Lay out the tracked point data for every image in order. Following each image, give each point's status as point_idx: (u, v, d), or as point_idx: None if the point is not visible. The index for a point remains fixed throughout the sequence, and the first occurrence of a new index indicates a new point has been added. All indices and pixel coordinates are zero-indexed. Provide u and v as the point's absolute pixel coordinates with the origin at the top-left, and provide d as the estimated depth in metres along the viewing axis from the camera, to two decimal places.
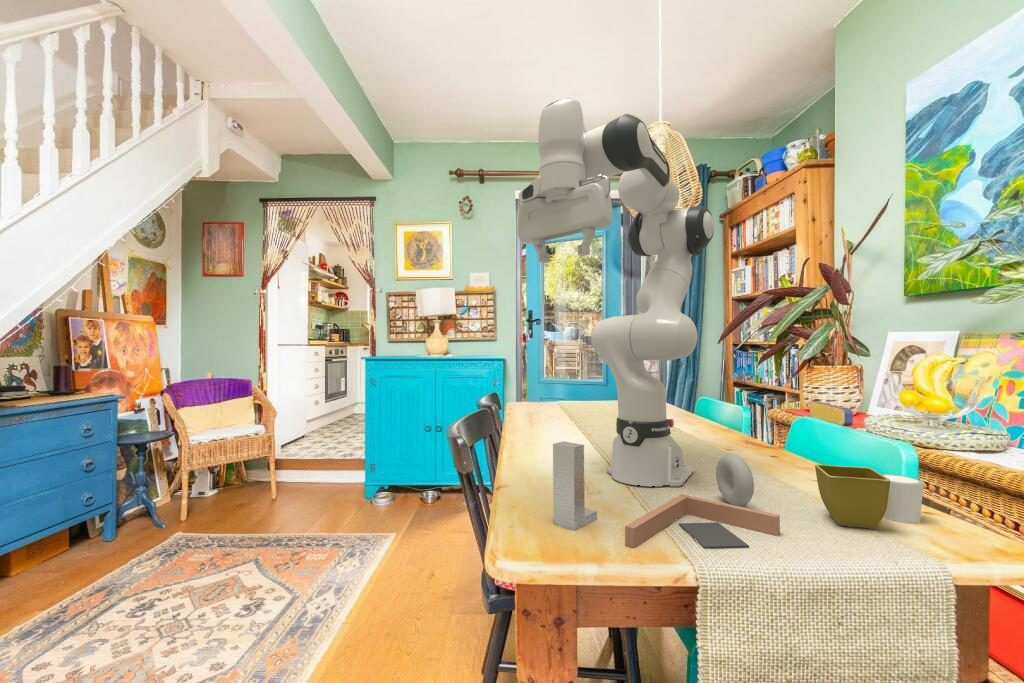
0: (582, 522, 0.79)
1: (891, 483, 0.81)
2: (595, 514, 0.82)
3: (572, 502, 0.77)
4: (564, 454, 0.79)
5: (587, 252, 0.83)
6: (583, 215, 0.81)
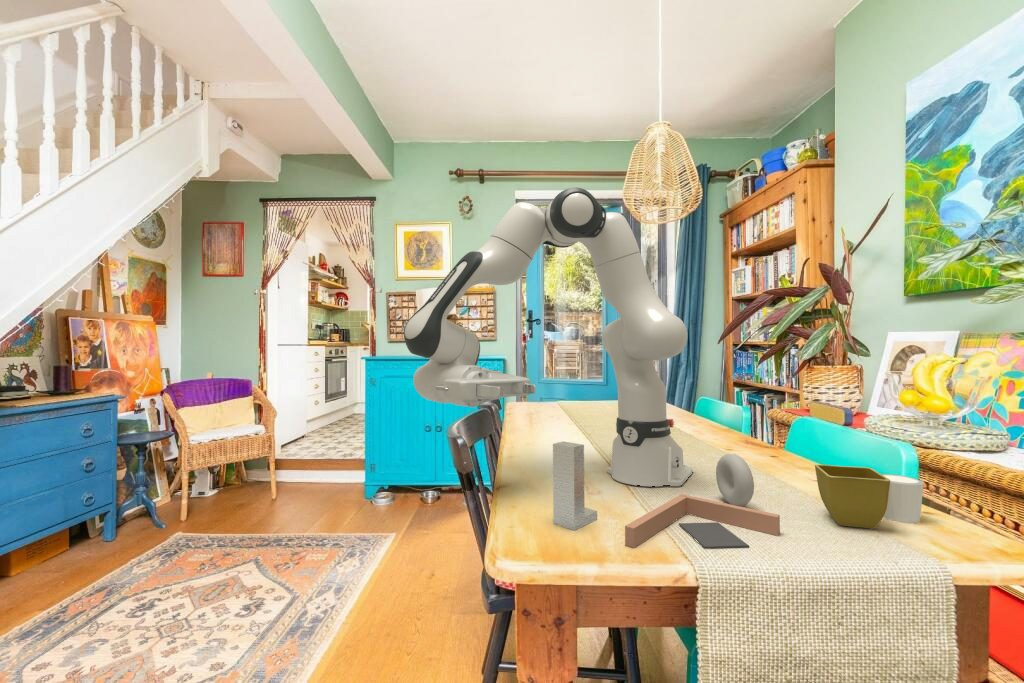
0: (582, 522, 0.79)
1: (891, 483, 0.81)
2: (595, 514, 0.82)
3: (572, 502, 0.77)
4: (564, 454, 0.79)
5: (497, 391, 0.84)
6: None
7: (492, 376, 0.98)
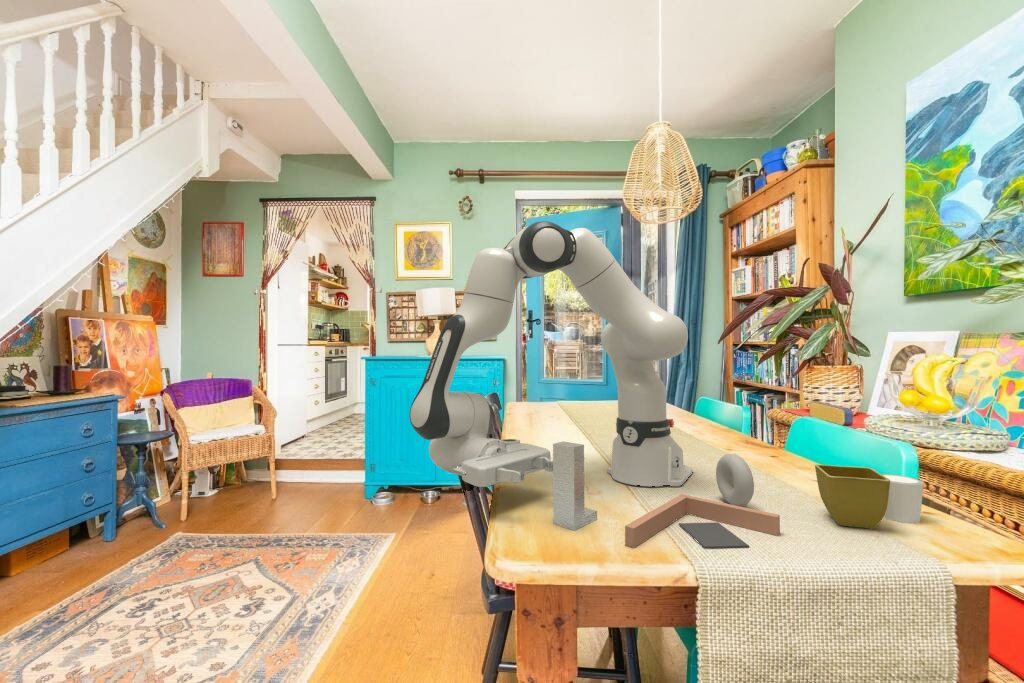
0: (582, 522, 0.79)
1: (891, 483, 0.81)
2: (595, 514, 0.82)
3: (572, 502, 0.77)
4: (564, 454, 0.79)
5: (517, 477, 0.81)
6: None
7: (511, 449, 0.95)
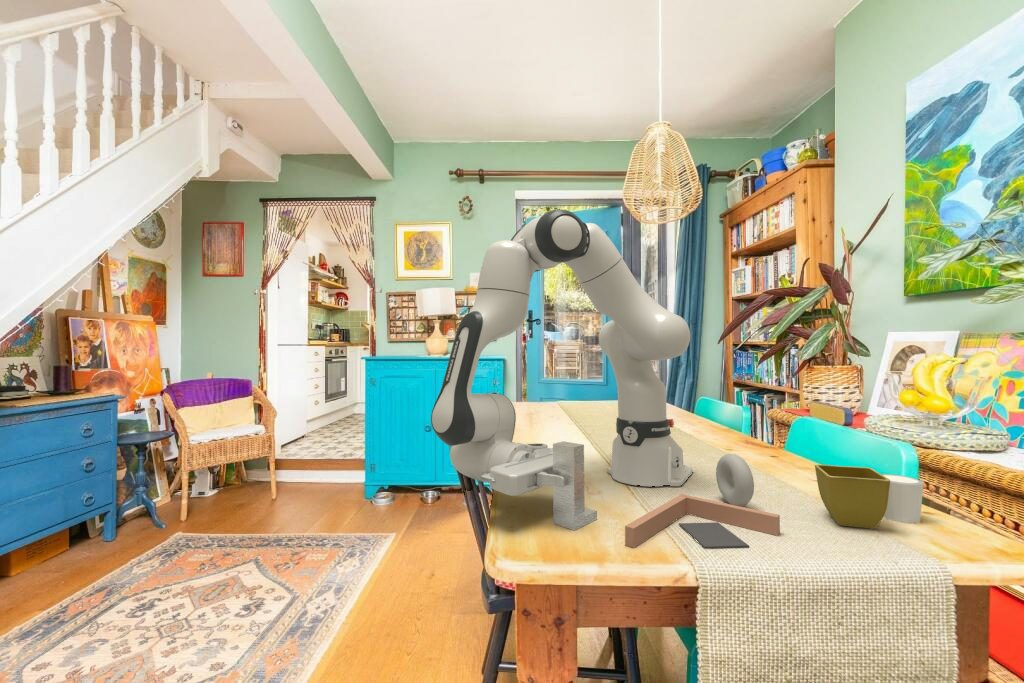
0: (582, 522, 0.79)
1: (891, 483, 0.81)
2: (595, 514, 0.82)
3: (572, 502, 0.77)
4: (564, 454, 0.79)
5: (560, 481, 0.77)
6: None
7: (539, 454, 0.89)
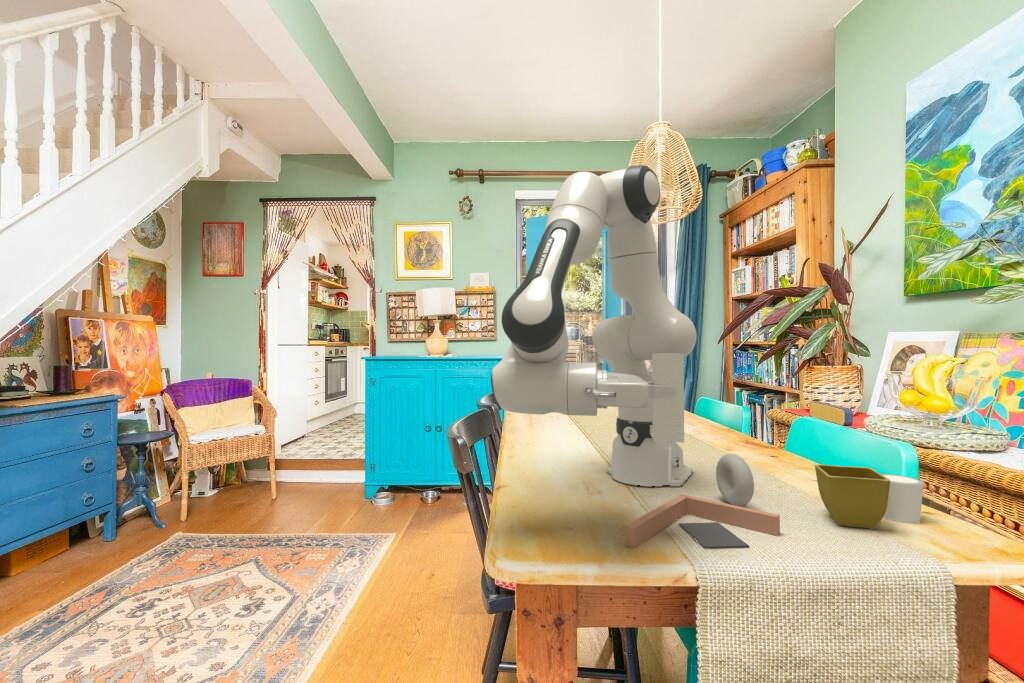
0: None
1: (891, 483, 0.81)
2: None
3: (680, 413, 0.72)
4: (670, 362, 0.72)
5: (673, 391, 0.71)
6: None
7: None
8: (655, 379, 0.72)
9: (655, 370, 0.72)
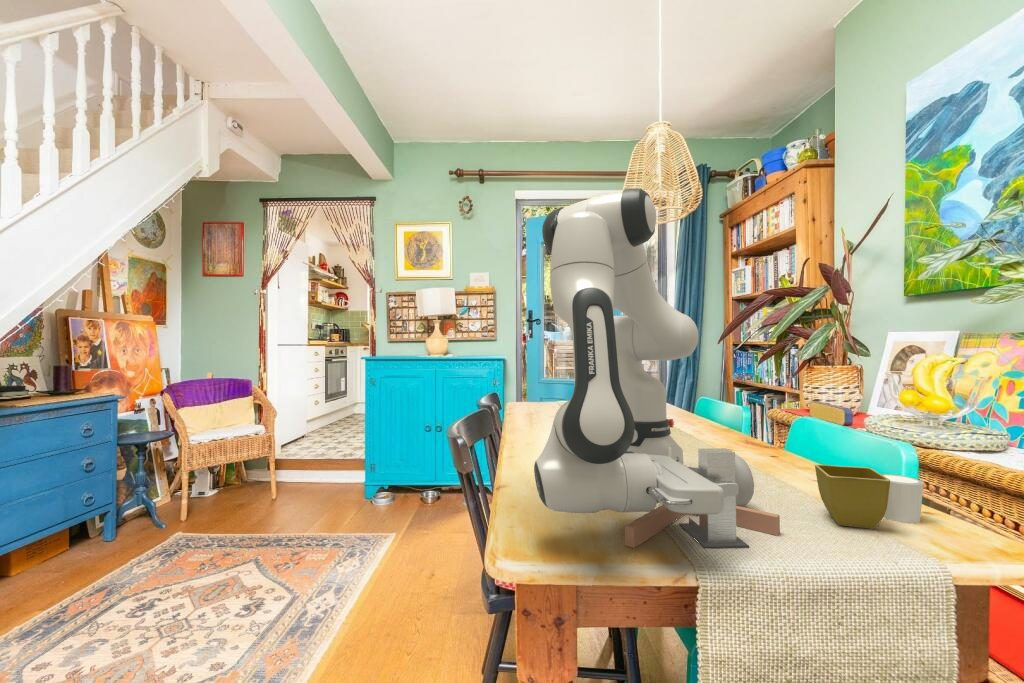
0: None
1: (891, 483, 0.81)
2: None
3: (733, 512, 0.71)
4: (723, 461, 0.71)
5: (736, 488, 0.68)
6: None
7: None
8: (708, 479, 0.71)
9: (708, 470, 0.71)
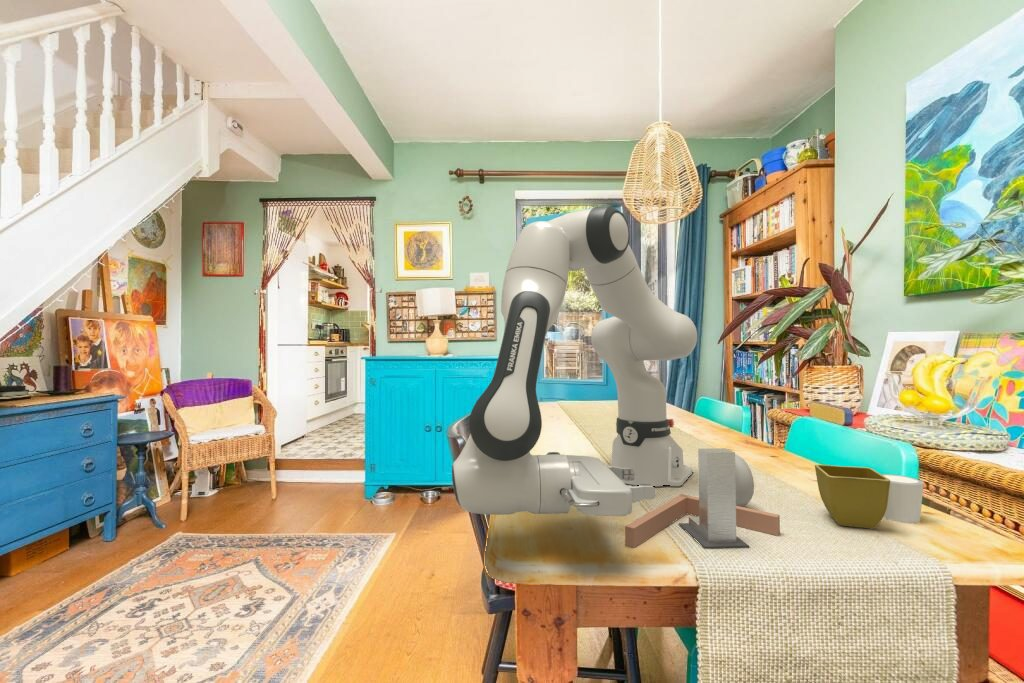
0: None
1: (891, 483, 0.81)
2: None
3: (733, 512, 0.71)
4: (723, 461, 0.71)
5: (652, 491, 0.67)
6: None
7: None
8: (708, 479, 0.71)
9: (708, 470, 0.71)
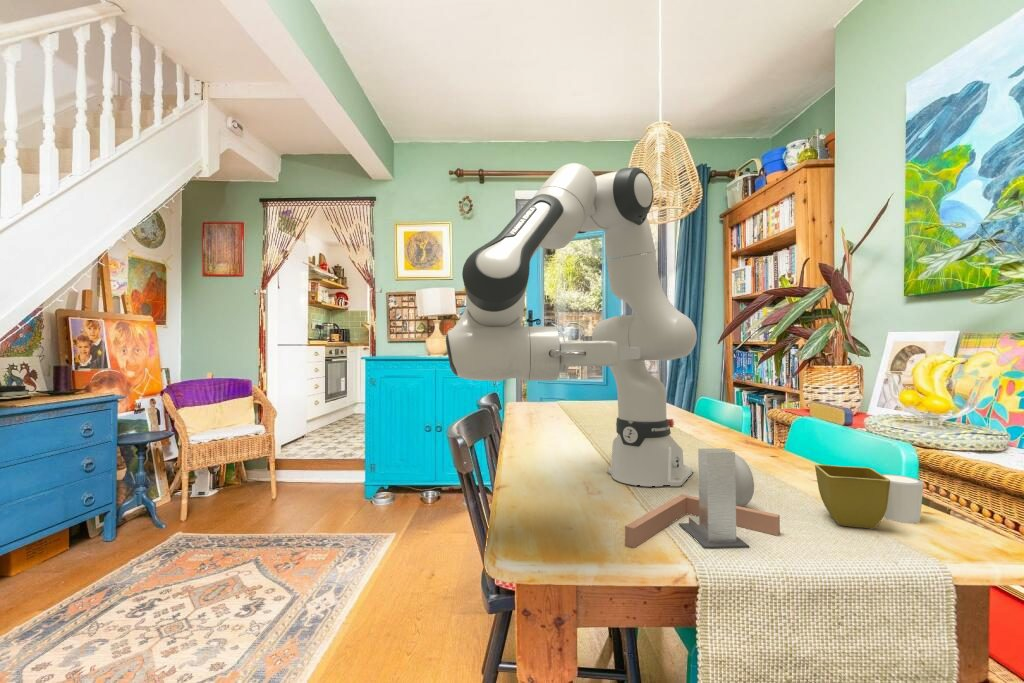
0: None
1: (891, 483, 0.81)
2: None
3: (733, 512, 0.71)
4: (723, 461, 0.71)
5: (638, 352, 0.69)
6: None
7: None
8: (708, 479, 0.71)
9: (708, 470, 0.71)
